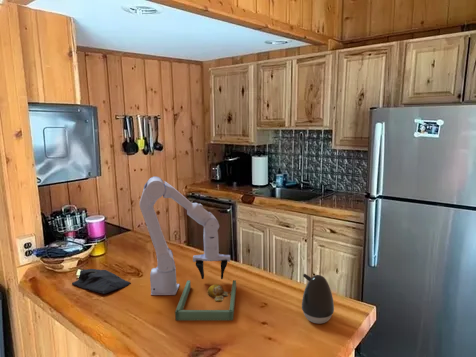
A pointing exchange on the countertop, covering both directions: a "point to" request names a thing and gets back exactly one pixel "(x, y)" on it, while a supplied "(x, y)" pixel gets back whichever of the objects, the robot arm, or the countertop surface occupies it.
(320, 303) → the pump dispenser
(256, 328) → the countertop surface
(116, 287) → the black fabric pouch
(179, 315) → the green u-shaped bracket
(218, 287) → the fruit
